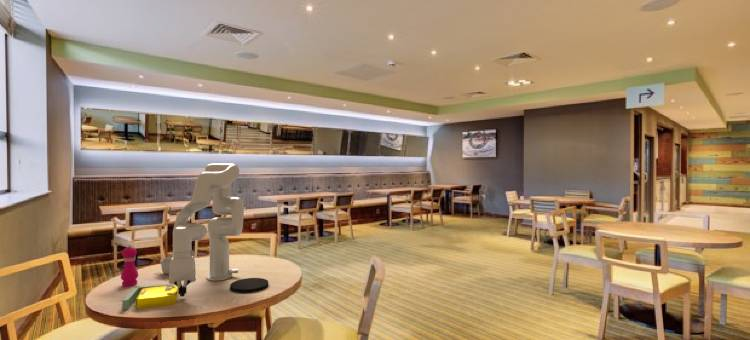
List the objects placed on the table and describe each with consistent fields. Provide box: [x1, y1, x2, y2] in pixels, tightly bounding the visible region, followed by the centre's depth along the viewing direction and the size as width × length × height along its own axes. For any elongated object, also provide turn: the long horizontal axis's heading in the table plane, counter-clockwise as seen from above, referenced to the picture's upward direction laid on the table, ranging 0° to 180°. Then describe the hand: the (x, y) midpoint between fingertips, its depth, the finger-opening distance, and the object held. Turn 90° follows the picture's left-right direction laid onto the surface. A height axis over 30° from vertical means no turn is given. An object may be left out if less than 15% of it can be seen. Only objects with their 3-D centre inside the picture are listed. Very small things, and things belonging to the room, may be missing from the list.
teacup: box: [159, 255, 173, 275], centre depth 207 cm, size 14×11×8 cm
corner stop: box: [121, 283, 175, 311], centre depth 166 cm, size 17×18×4 cm
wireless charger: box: [229, 277, 269, 294], centre depth 185 cm, size 18×18×2 cm
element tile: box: [135, 285, 180, 309], centre depth 165 cm, size 15×15×5 cm
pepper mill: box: [120, 244, 139, 288], centre depth 186 cm, size 7×7×20 cm
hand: (182, 295), depth 168 cm, fingers closed
